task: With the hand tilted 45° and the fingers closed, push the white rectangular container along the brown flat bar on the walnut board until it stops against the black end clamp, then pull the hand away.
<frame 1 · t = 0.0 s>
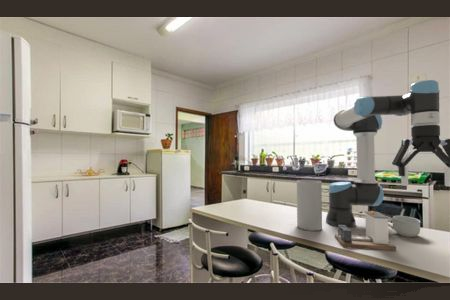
hand: (426, 186, 78), 28 cm above the counter, tool pointing down, fingers open, 13 cm apart
cylinder vase: (309, 227, 121), on the counter
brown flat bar: (362, 238, 99), on the rail board, point 1 cm above the counter
rail board: (363, 243, 99), on the counter
white rectangular container: (376, 225, 98), point 8 cm above the counter, slide at 0.0 cm
end clamp: (344, 233, 100), on the rail board, point 4 cm above the counter
teacup: (402, 234, 110), on the counter
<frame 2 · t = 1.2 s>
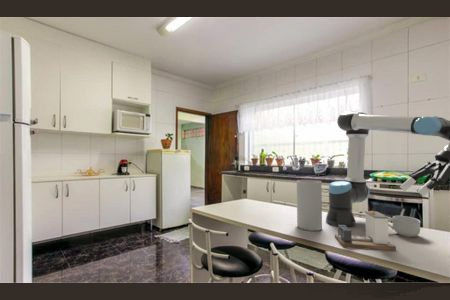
hand: (410, 191, 96), 23 cm above the counter, tool tilted 45°, fingers open, 12 cm apart
nothing on the counter moved.
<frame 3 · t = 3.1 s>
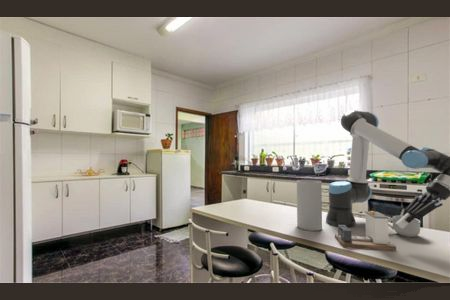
hand: (399, 225, 96), 9 cm above the counter, tool tilted 45°, fingers closed
nothing on the counter moved.
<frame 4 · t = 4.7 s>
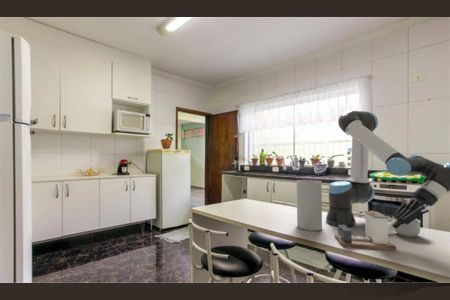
hand: (386, 231, 96), 6 cm above the counter, tool tilted 45°, fingers closed
white rectangular container: (376, 225, 98), point 8 cm above the counter, slide at 0.1 cm, touching gripper
everything else where it was.
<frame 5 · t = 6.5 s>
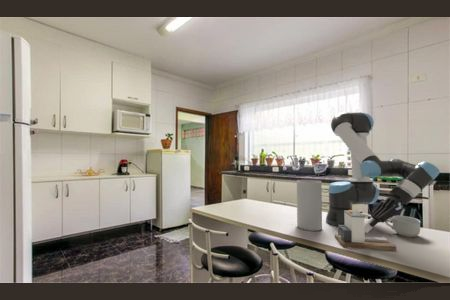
hand: (363, 230, 98), 6 cm above the counter, tool tilted 45°, fingers closed
white rectangular container: (354, 224, 99), point 8 cm above the counter, slide at 9.0 cm, touching end clamp, gripper
everything else where it was.
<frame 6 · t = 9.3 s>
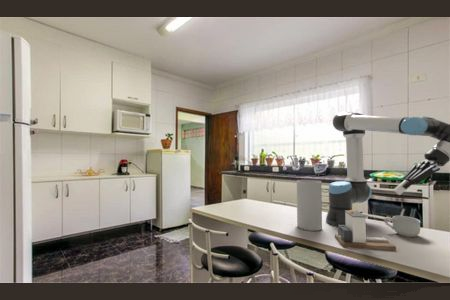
hand: (396, 192, 97), 23 cm above the counter, tool tilted 45°, fingers closed
white rectangular container: (355, 224, 99), point 8 cm above the counter, slide at 8.6 cm
everything else where it was.
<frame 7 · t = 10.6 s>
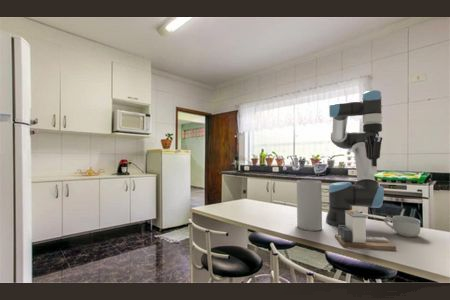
hand: (373, 173, 106), 30 cm above the counter, tool pointing down, fingers closed
nothing on the counter moved.
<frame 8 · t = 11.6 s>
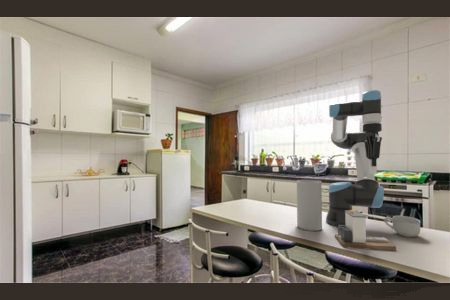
hand: (372, 173, 106), 30 cm above the counter, tool pointing down, fingers closed
nothing on the counter moved.
at the end: white rectangular container slide at 8.6 cm; teacup moved 0.3 cm from its start; cylinder vase moved 0.2 cm from its start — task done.
